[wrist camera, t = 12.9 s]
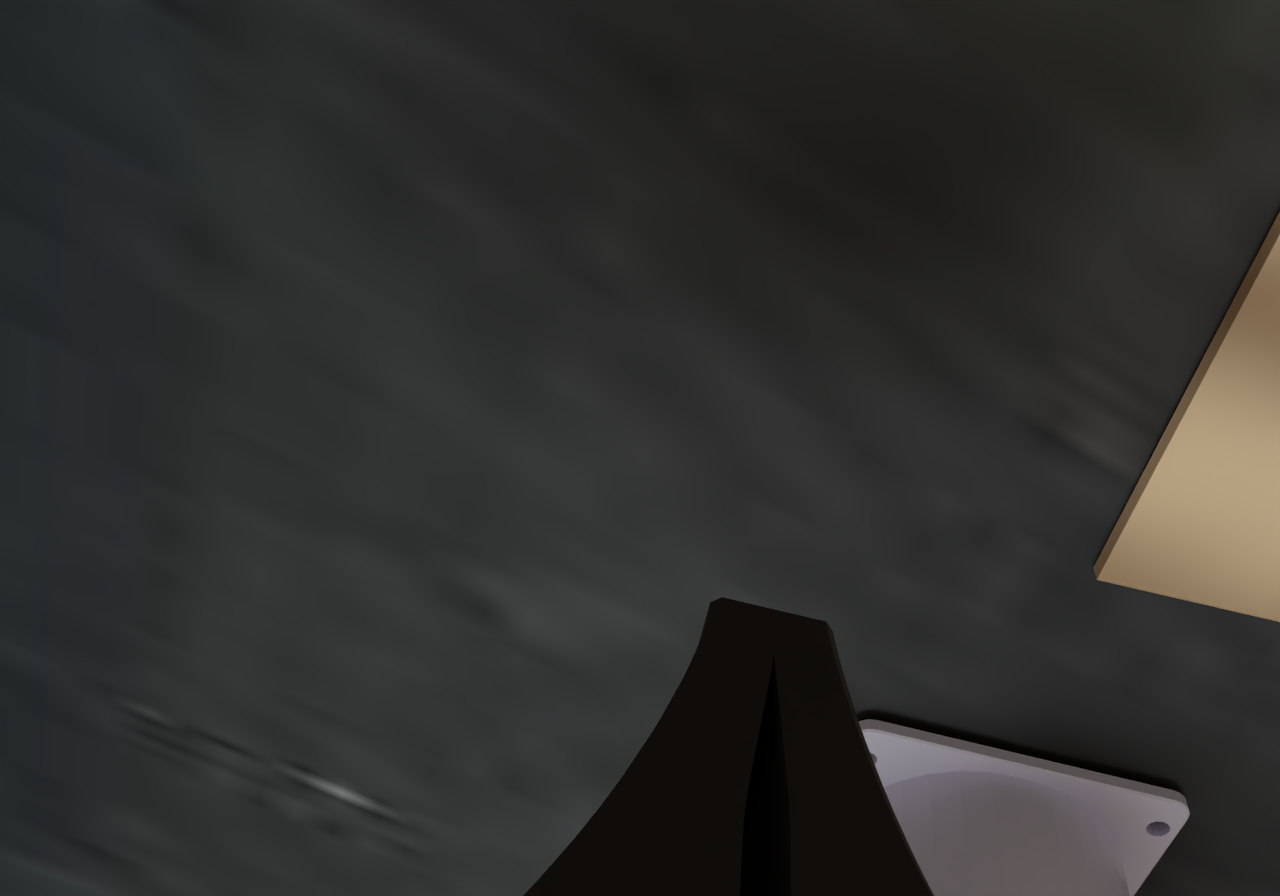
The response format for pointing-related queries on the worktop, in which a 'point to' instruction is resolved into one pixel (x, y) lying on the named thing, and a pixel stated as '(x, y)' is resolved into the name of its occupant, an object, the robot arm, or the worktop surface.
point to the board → (1216, 470)
